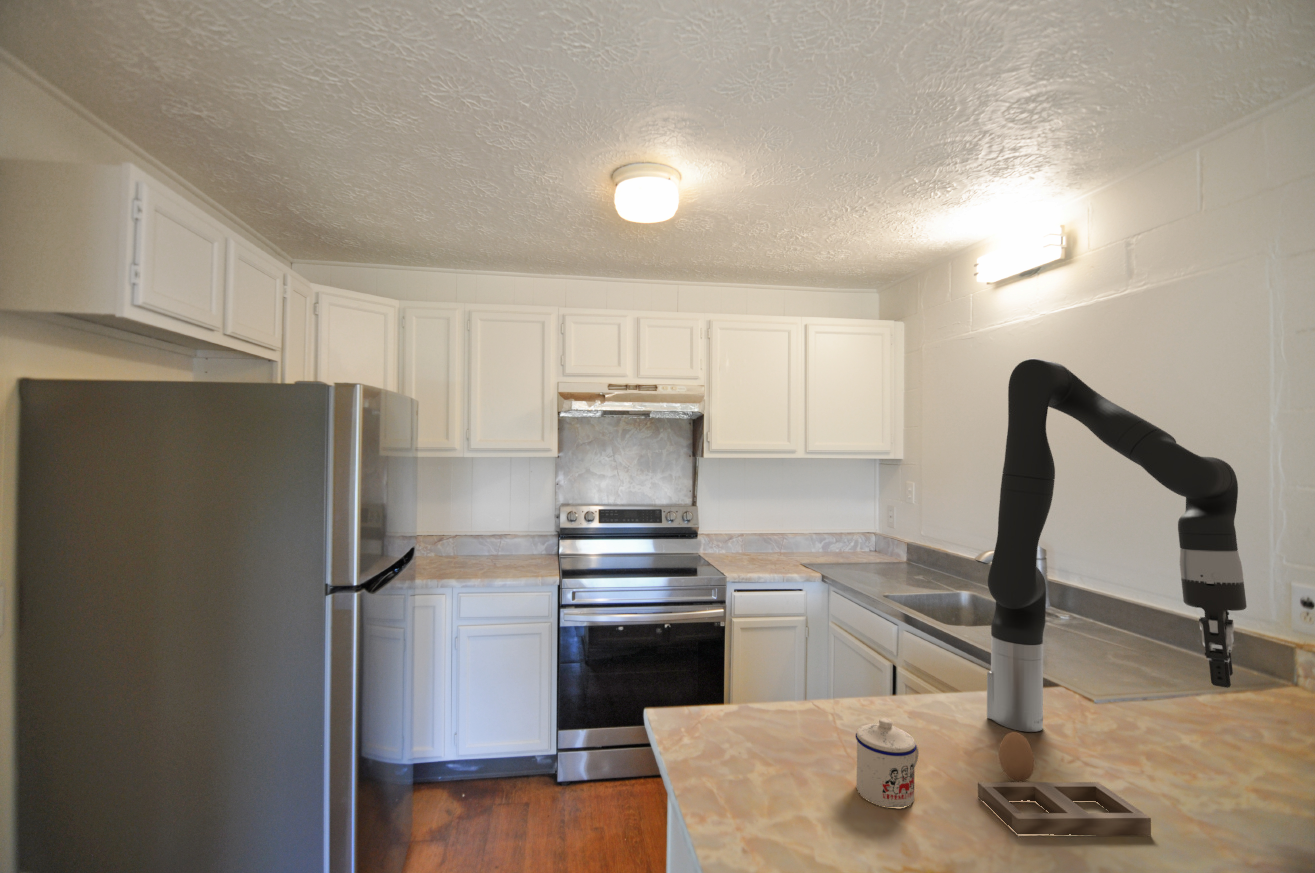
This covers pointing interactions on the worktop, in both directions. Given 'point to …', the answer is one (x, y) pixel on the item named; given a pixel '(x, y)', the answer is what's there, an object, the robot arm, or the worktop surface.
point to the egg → (1016, 757)
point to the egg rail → (1064, 809)
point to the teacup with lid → (886, 764)
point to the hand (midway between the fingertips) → (1222, 680)
